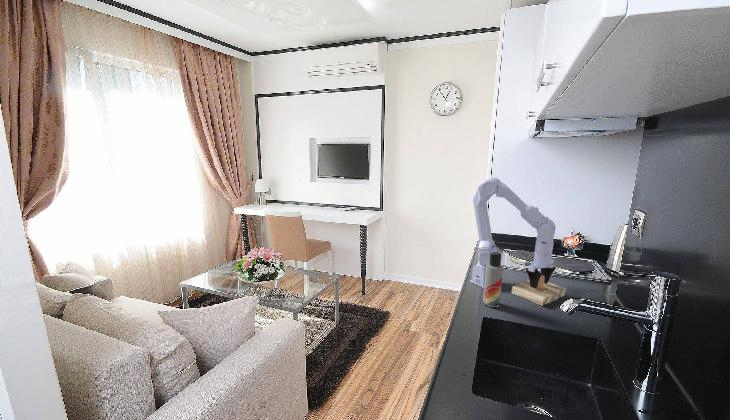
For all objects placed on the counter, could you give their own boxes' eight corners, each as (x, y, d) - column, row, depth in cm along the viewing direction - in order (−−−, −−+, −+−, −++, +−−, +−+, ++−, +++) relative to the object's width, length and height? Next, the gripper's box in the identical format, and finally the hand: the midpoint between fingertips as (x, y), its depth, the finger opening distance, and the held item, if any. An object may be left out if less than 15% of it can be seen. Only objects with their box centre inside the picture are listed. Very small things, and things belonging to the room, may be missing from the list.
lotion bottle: (496, 310, 111) (501, 256, 107) (480, 304, 114) (484, 253, 110) (501, 304, 115) (506, 252, 111) (486, 299, 119) (490, 249, 115)
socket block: (542, 306, 113) (543, 299, 112) (511, 293, 123) (512, 286, 122) (564, 295, 121) (565, 288, 121) (534, 284, 131) (535, 277, 131)
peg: (538, 297, 120) (541, 277, 118) (531, 293, 123) (533, 274, 121) (544, 295, 122) (546, 276, 120) (536, 292, 124) (538, 273, 123)
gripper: (543, 258, 111) (538, 293, 114) (564, 251, 119) (559, 284, 122) (524, 252, 117) (520, 286, 120) (545, 246, 125) (541, 277, 128)
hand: (539, 285), depth 121 cm, fingers open, 7 cm apart
